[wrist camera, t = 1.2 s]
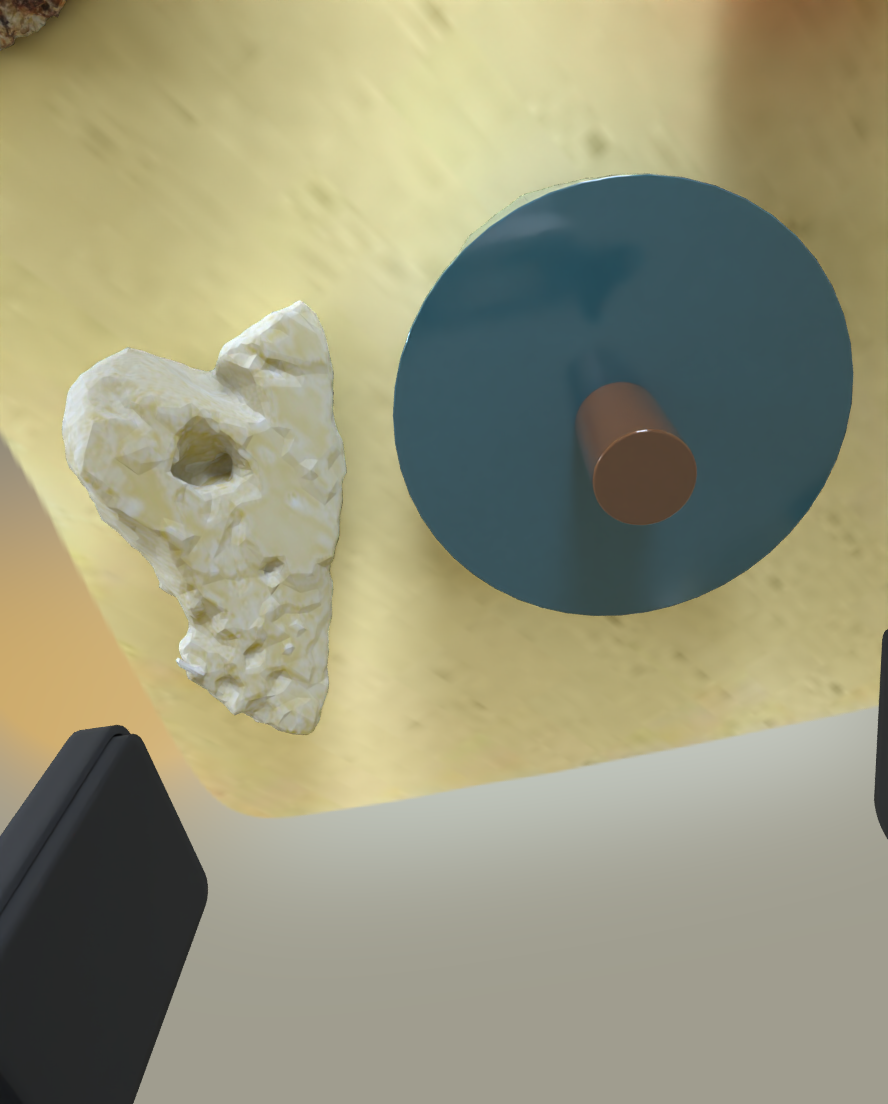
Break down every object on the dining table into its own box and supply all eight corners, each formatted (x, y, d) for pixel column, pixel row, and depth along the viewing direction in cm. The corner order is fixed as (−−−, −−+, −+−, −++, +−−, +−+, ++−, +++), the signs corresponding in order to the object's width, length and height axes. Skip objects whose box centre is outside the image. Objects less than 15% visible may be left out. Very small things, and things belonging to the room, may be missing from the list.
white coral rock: (150, 245, 34) (-77, 542, 30) (220, 207, 28) (-49, 569, 24) (389, 458, 43) (238, 709, 39) (479, 463, 37) (312, 757, 33)
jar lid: (832, 113, 21) (942, 103, 16) (842, 558, 27) (924, 653, 22) (343, 240, 23) (304, 267, 18) (451, 628, 29) (445, 731, 24)
